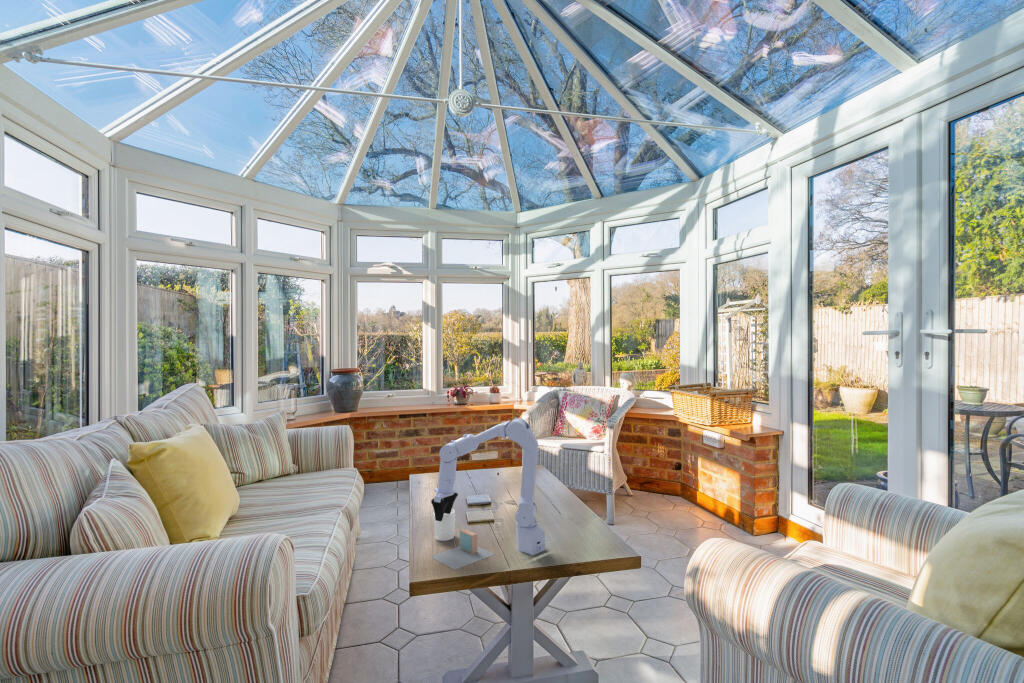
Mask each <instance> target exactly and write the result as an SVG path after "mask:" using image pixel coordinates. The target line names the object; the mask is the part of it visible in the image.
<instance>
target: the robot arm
mask: <svg viewBox="0 0 1024 683" xmlns="http://www.w3.org/2000/svg"><path fill="white" fill-rule="evenodd" d="M497 437H500V438H503V439H504V438H508V439H509V440H511V441H513V442H515V443H517V444H518V446H520V447H521V448H522V449H523V459H522V471H521V482H520V483H521V484H520V496H519V501H518V509H517V511H516V512H515V517H514V519H515V531H516V550H517V551H518V552H521V553H525V554H528V555H530V556H535V555H537V554H539V553H542V552H544V551H546V539H545V538H546V536H545V531H544V529H543V528H542V527H541V526H539V524H538V520H537V519H536V517H535V516H536V514H537V512H538V508H537V505H536V496H535V493H536V492H535V491H536V490H535V489H536V480H537V479H536V478H537V465H538V462H537V461H538V453H539V452H538V450H539V441H538V440H537V438H536V436H535V434H534V432H533V430H532V428H531V426H530V424H529V423H528V422H527V421H526V420H525V419H523V418H521V417H516V418H514V419H512V420H507V421H503V422H501V423H499V424H495V425H494V426H492V427H490V428H488V429H486V430H484V431H482V432H479V433H477V434H472V433H469V434H467V433H465V434H463V435H462V437H460V438H458V439H452V440H451V441H450V442H448V443H447V444H445V445H443V446H442V447H441V448H440V449H439V454H438V455H439V458H440V462H439V463H440V464H439V472H438V481H437V487H435V488H434V489H433V491H434V492H436V493H435V495H434V498H431V501H430V503H431V506H432V508H433V512H434V513H435V519H436V521H442V519H443V515H444V513H446V514H450V513H451V510H452V509H453V507H454V503H455V501H456V499H457V497H458V496H459V493H458V492H456V490H457V489H456V487H457V486H456V484H455V483H456V474H457V461H458V460H457V459H458V458H459V457H462V456H464V455H467V454H469V453H471V452H473V451H475V450H477V449H478V447H479V445H480V444H483V443H485V442H486V441H489V440H492V439H495V438H497Z"/></svg>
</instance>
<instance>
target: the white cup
mask: <svg viewBox="0 0 1024 683" xmlns="http://www.w3.org/2000/svg"><path fill="white" fill-rule="evenodd" d="M432 518H433V528H434V529H433V530H434V531H433V532H434V538H435V540H436V541H440V542H441V541H442V542H444V541H445V542H446V541H449V540H452V539H454V538H455V529H456V528H455V526H456V525H455V524H456V523H455V522H456V520H455V519H456V510H455V509H453V508H452V510H451V513H450V514H446V513H444V515H443V519H442V521H436V519H435V513H434V511H433V512H432Z"/></svg>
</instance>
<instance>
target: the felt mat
mask: <svg viewBox="0 0 1024 683" xmlns="http://www.w3.org/2000/svg"><path fill="white" fill-rule="evenodd" d="M494 555H495V553H493V552H491V551H489V550H486V549H484V548H482V547H480V546H478V545H477V553H474V554H472V553H470V552H467V551H465V550H463V549H461V548H460V545H459V546H457V547H454V548H451V549H447V550H445V551H442V552H439V553H436V554H434V555H431V556H430V558H432V559H433V560H435V561H438V562H440V563H441V564H443V565H445V566H447V567H449V568H451V569H452V570H454V571H455V570H459V569H462V568H463V567H465V566H469V565H471V564H474V563H475V562H479V561H481V560H482V561H483V560H484V559H486V558H490V557H491V556H494Z"/></svg>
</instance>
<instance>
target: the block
mask: <svg viewBox="0 0 1024 683" xmlns="http://www.w3.org/2000/svg"><path fill="white" fill-rule="evenodd" d="M459 546H460V548H461V549H463V550H465V551H467V552H470V553H472V554H474V553H477V546H478V534H477V533H475V532H473V531H471V530H468V529H465V528H463V529H460V530H459Z"/></svg>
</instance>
